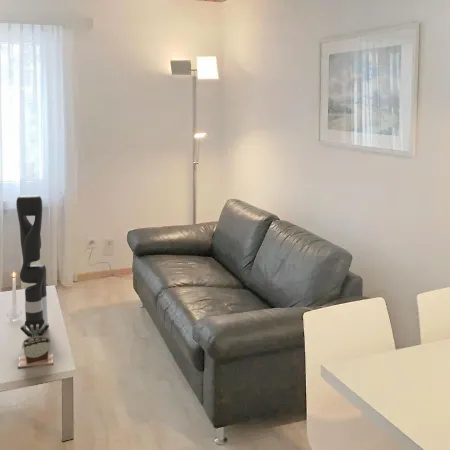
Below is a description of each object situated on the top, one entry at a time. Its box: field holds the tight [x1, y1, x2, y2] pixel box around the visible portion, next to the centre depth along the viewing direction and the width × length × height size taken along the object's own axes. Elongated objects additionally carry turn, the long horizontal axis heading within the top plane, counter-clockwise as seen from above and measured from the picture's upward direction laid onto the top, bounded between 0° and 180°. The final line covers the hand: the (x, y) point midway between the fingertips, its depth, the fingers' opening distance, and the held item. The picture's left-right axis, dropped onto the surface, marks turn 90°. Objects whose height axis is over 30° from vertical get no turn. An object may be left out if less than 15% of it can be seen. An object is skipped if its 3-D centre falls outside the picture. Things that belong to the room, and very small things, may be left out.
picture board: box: [17, 352, 54, 370], centre depth 261 cm, size 11×15×1 cm
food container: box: [21, 335, 51, 364], centre depth 260 cm, size 12×6×10 cm, turn 125°
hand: (35, 344), depth 267 cm, fingers closed
